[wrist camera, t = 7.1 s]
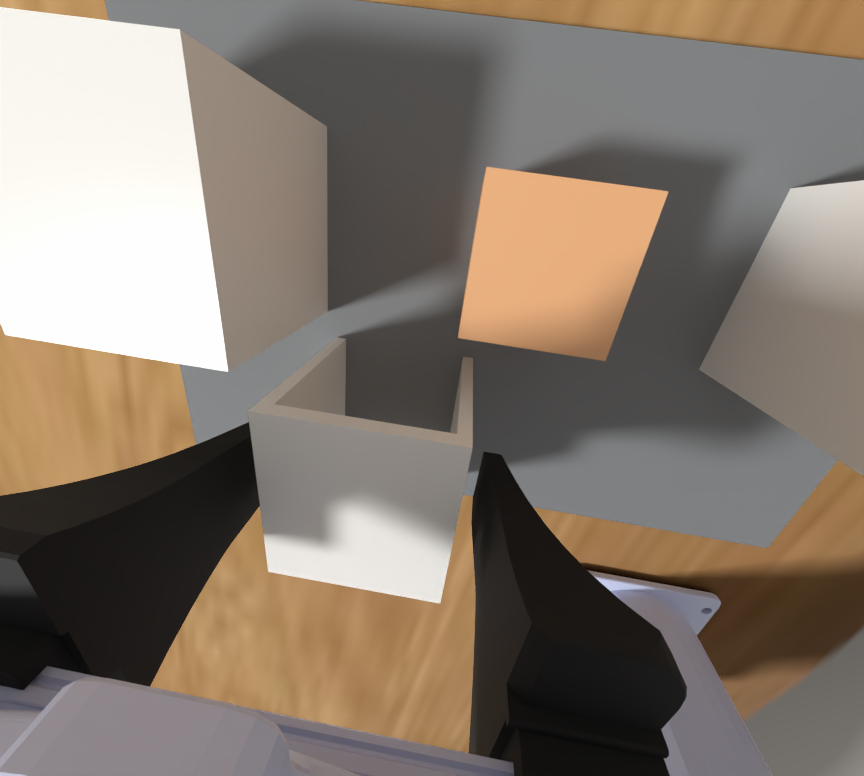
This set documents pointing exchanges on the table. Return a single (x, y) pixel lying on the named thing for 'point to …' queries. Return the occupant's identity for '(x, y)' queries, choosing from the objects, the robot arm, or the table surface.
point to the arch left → (153, 195)
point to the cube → (555, 261)
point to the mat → (558, 156)
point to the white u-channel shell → (357, 484)
